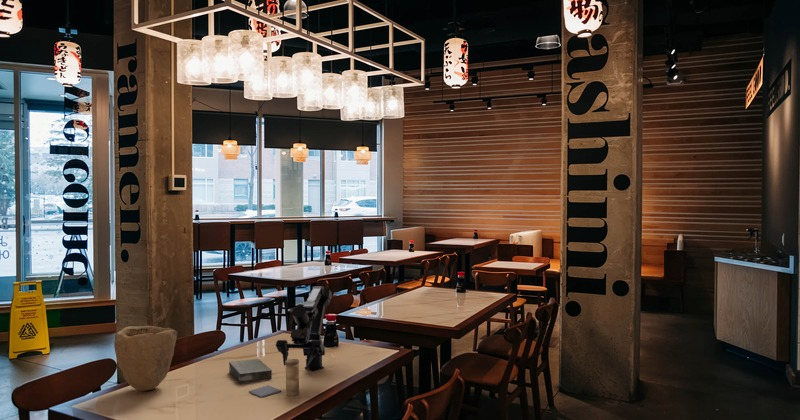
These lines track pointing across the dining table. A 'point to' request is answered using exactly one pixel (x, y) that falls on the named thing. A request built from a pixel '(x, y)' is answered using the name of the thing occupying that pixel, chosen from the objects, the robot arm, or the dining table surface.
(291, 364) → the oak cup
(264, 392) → the slate mat
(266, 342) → the dining table surface
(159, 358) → the bowl
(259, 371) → the stone block
